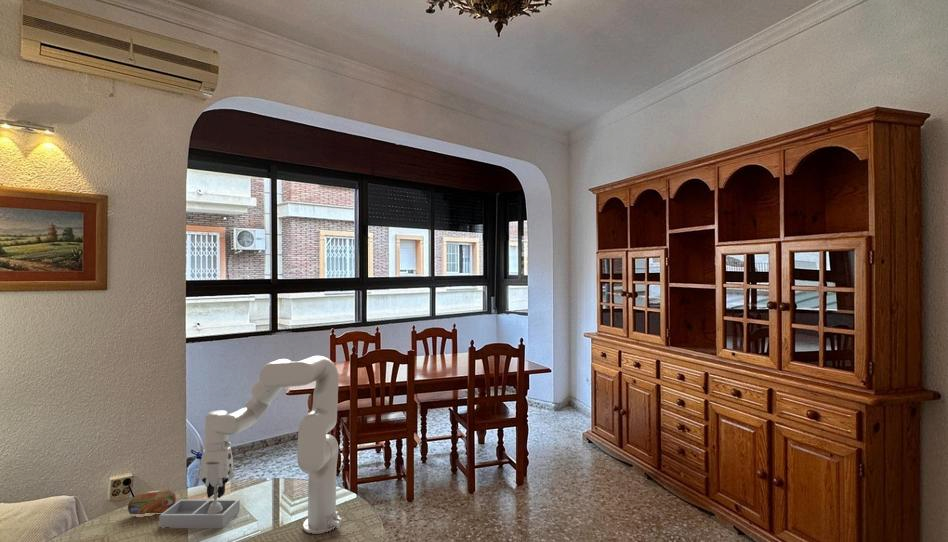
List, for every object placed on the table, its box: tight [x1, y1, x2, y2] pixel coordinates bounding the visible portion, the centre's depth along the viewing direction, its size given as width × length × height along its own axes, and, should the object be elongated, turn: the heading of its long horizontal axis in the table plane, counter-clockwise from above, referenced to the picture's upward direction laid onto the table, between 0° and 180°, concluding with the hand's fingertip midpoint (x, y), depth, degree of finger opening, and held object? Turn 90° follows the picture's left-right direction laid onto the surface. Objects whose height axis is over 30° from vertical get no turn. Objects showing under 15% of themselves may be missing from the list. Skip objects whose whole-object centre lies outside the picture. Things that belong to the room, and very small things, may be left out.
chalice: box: [206, 463, 223, 514], centre depth 168 cm, size 7×7×18 cm
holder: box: [158, 499, 241, 529], centre depth 167 cm, size 22×12×4 cm, turn 90°
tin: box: [127, 489, 177, 515], centre depth 172 cm, size 15×3×8 cm, turn 105°
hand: (215, 495), depth 168 cm, fingers closed on chalice, 3 cm apart
